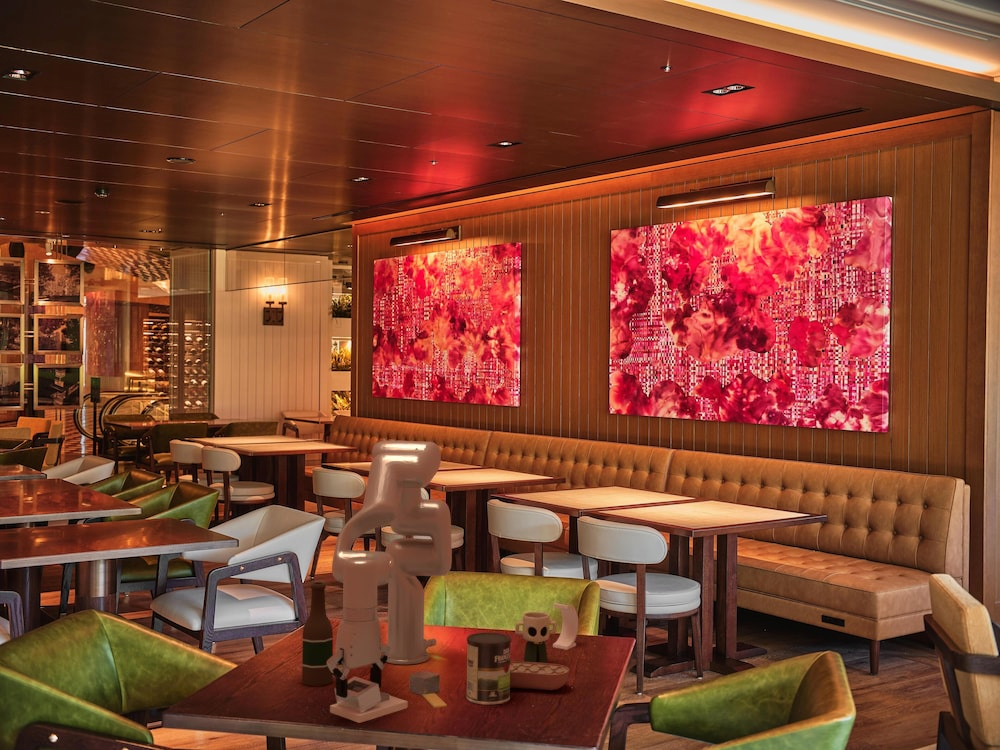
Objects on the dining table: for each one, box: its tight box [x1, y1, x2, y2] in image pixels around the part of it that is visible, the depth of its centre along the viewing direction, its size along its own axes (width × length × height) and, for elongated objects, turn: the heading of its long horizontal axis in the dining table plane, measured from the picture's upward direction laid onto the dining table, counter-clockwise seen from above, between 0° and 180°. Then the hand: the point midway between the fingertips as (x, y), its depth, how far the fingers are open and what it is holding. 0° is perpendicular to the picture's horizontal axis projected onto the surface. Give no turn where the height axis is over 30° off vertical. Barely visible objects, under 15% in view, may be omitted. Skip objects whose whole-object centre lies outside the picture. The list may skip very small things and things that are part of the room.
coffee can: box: [465, 632, 512, 706], centre depth 239 cm, size 10×10×14 cm
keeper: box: [329, 687, 408, 724], centre depth 229 cm, size 14×10×6 cm
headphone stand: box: [552, 602, 579, 651], centre depth 286 cm, size 5×6×12 cm
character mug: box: [514, 611, 558, 663], centre depth 267 cm, size 11×7×13 cm, turn 99°
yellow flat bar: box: [422, 693, 448, 709], centre depth 236 cm, size 9×3×1 cm, turn 21°
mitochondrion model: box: [510, 660, 570, 691], centre depth 248 cm, size 23×10×5 cm, turn 84°
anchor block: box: [409, 670, 441, 697], centre depth 243 cm, size 5×5×4 cm
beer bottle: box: [301, 581, 334, 687], centre depth 250 cm, size 8×8×24 cm
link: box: [333, 676, 381, 713], centre depth 227 cm, size 6×8×4 cm
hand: (358, 691), depth 227 cm, fingers open, 9 cm apart
